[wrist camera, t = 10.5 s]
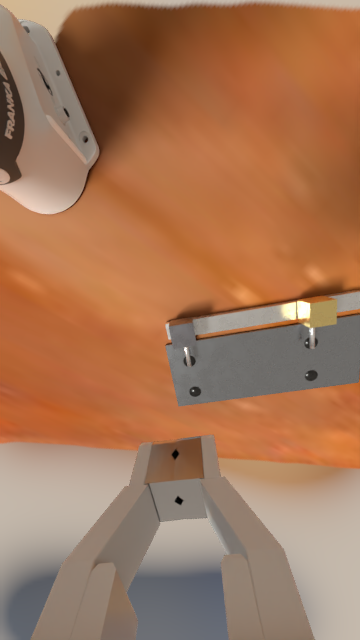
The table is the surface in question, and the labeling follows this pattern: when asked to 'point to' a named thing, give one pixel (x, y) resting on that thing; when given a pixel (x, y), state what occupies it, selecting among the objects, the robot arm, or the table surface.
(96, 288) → the table surface
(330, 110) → the table surface
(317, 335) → the flange plate
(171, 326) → the trammel beam
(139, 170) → the table surface
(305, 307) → the sliding head
